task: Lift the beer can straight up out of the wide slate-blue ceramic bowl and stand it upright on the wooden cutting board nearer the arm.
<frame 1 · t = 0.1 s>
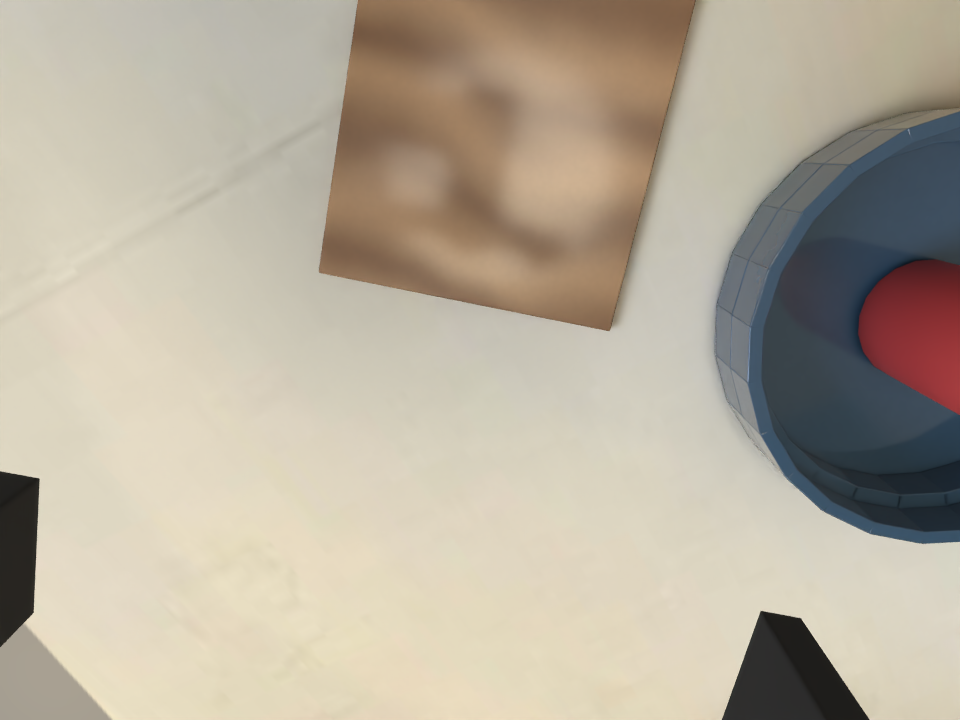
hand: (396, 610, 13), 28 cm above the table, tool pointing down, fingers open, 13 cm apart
blue bowl: (910, 316, 40), on the table
beer can: (911, 317, 40), resting on blue bowl
wooden cutting board: (508, 90, 37), on the table
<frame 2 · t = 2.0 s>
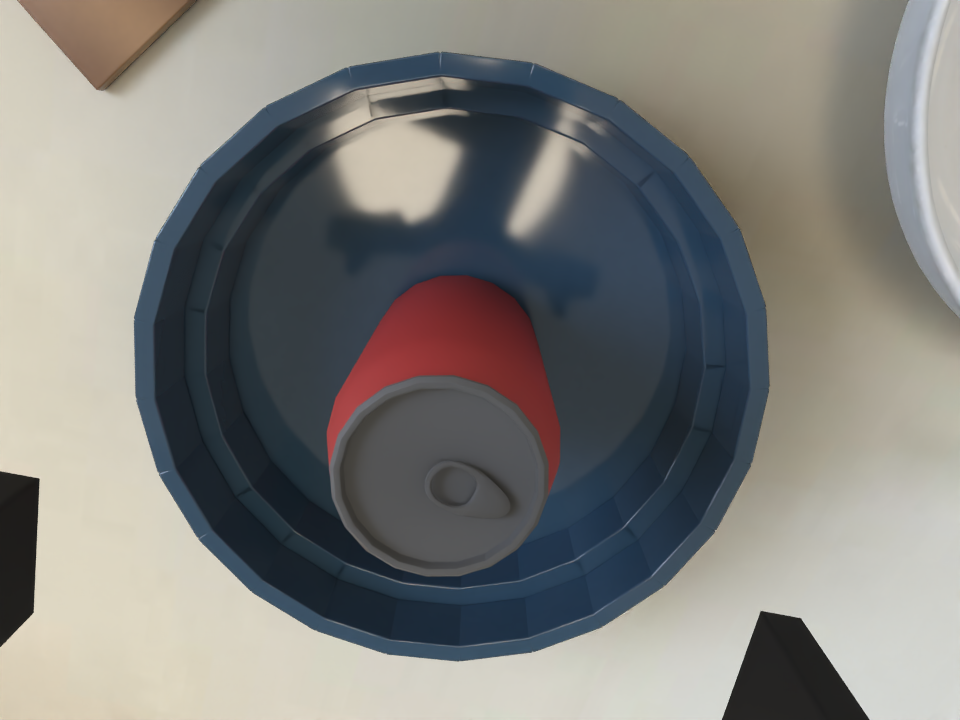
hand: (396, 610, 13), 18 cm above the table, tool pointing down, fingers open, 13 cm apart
blue bowl: (456, 350, 30), on the table
beer can: (456, 350, 30), resting on blue bowl
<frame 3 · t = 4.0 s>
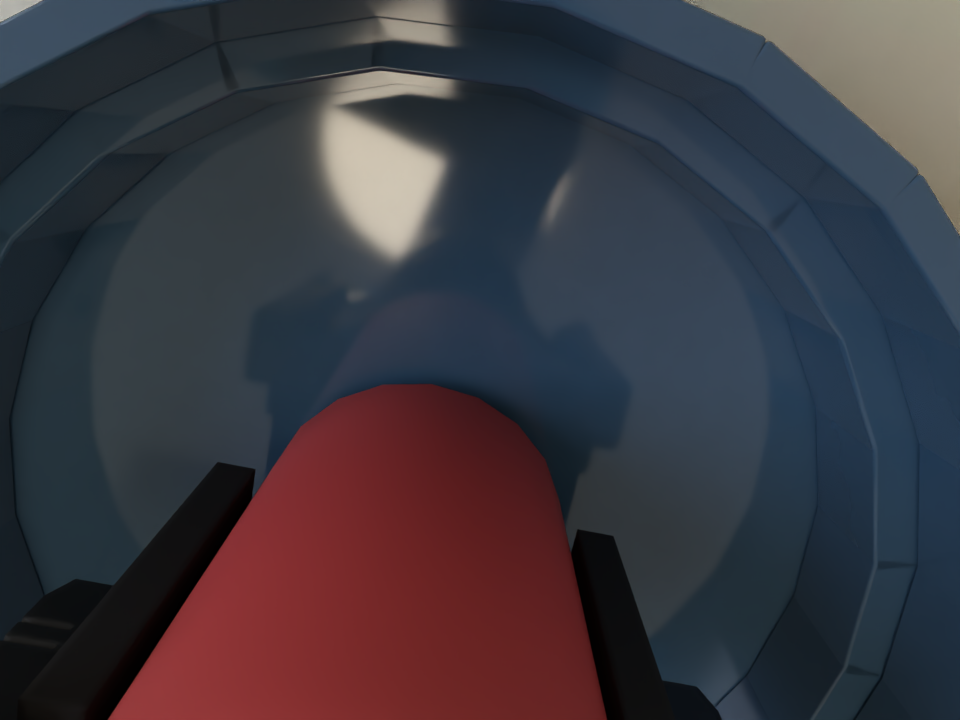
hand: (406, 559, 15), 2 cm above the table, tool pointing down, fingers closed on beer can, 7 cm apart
blue bowl: (416, 503, 17), on the table
beer can: (416, 505, 17), resting on blue bowl, touching gripper
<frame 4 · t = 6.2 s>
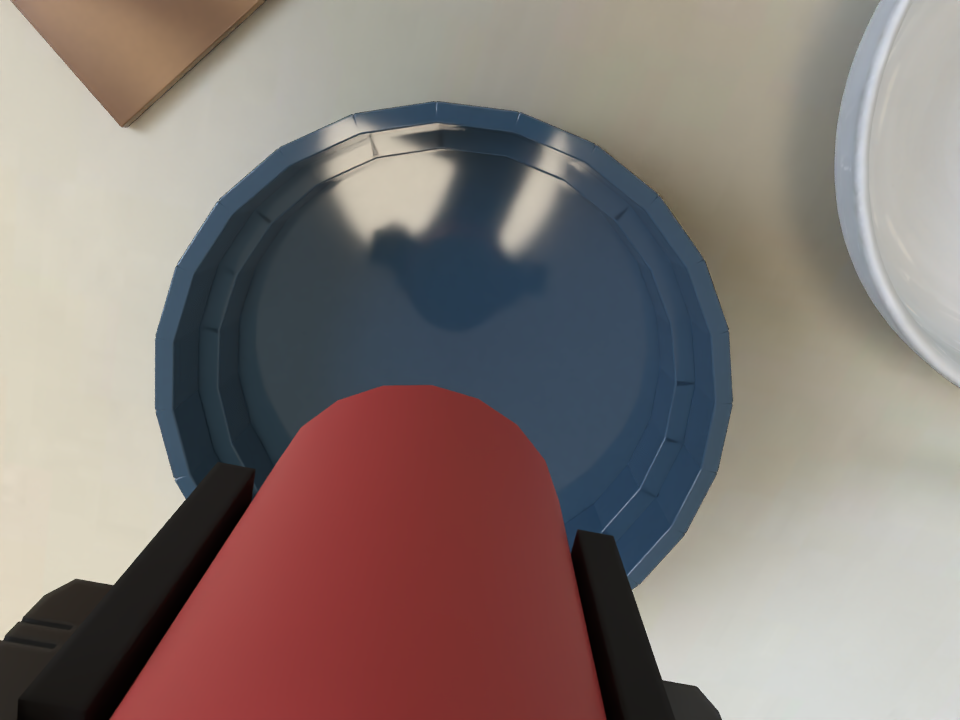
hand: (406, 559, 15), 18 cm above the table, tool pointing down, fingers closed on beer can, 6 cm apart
blue bowl: (449, 366, 33), on the table
beer can: (416, 506, 17), point 16 cm above the table, touching gripper
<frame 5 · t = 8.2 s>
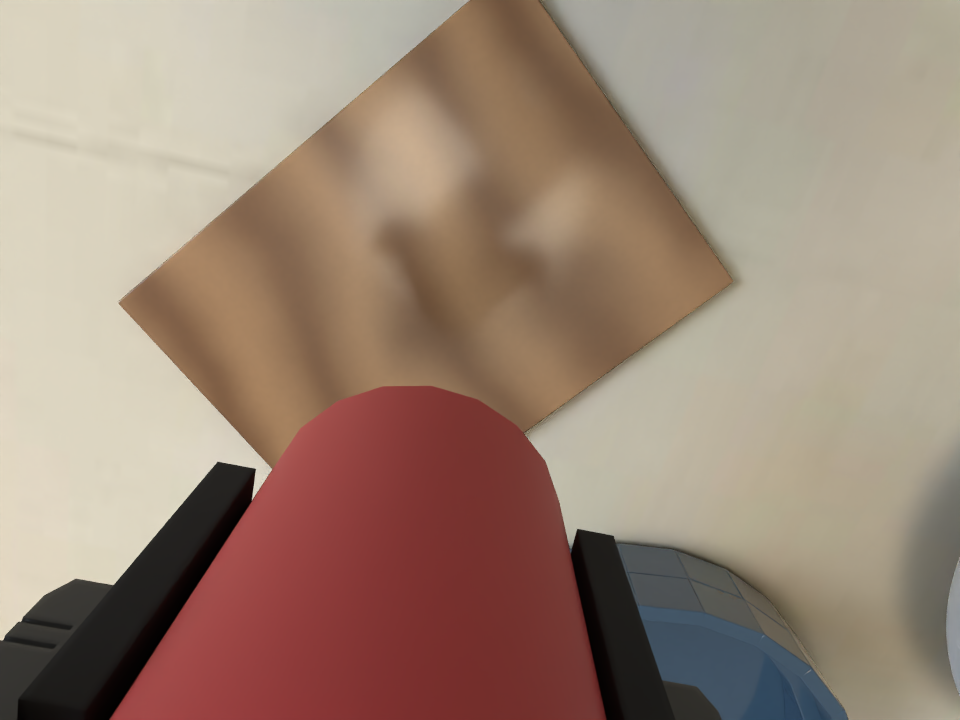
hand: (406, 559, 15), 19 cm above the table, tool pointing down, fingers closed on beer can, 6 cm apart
beer can: (416, 507, 17), point 17 cm above the table, touching gripper
wooden cutting board: (425, 290, 33), on the table
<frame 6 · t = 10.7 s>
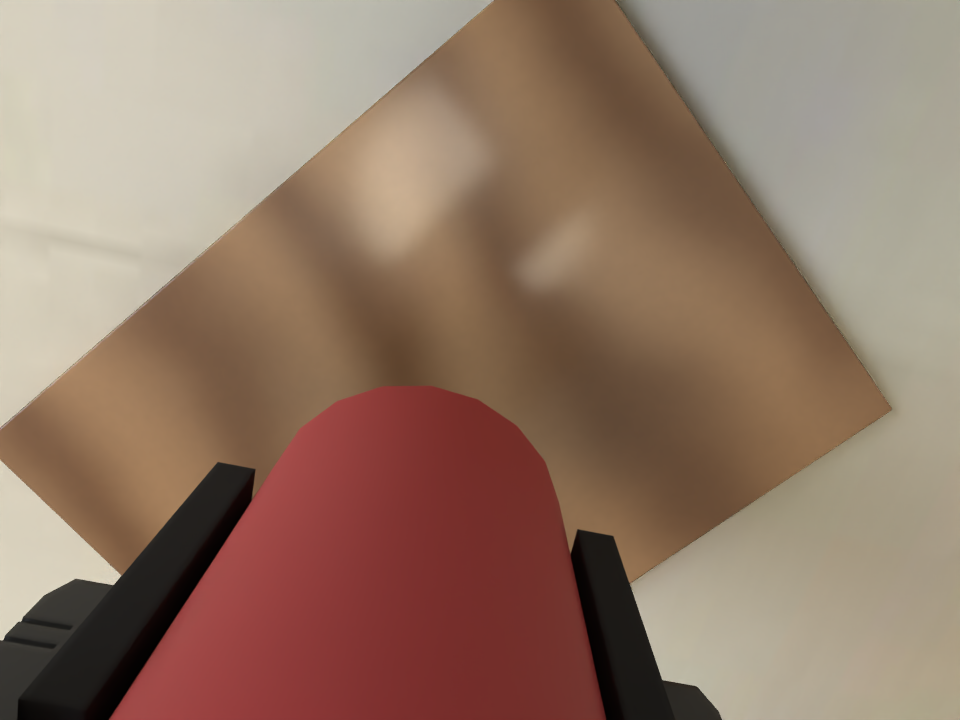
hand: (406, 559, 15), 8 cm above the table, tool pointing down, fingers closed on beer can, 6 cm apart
beer can: (416, 506, 17), point 5 cm above the table, touching gripper
wooden cutting board: (434, 420, 23), on the table
when the fingers open (3 cm above the table, at t = 12.4 s): beer can stays where it is, resting on wooden cutting board.
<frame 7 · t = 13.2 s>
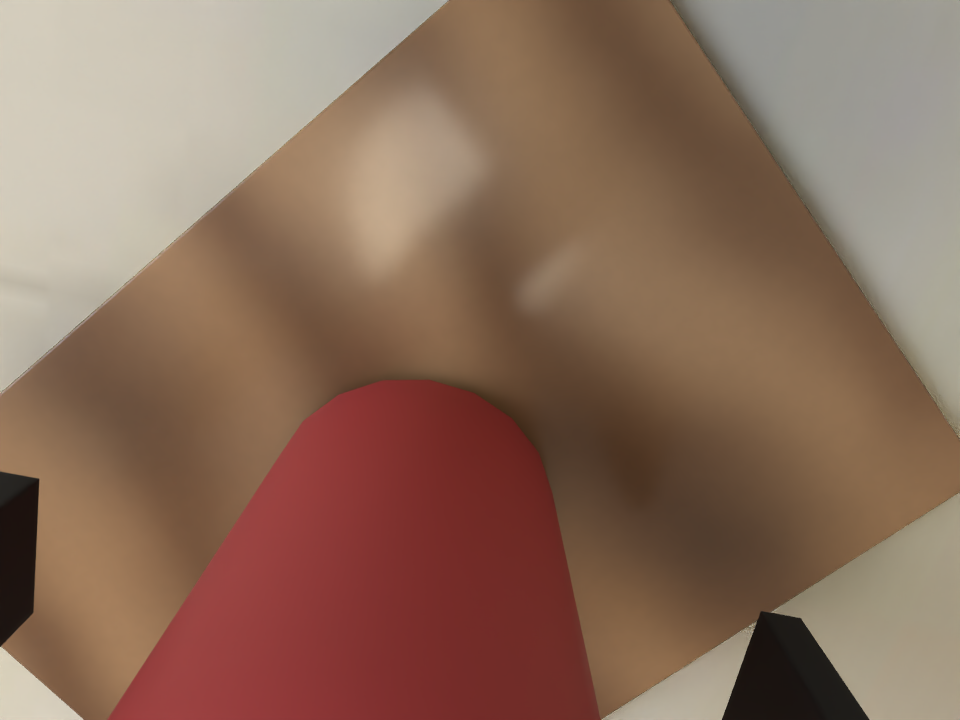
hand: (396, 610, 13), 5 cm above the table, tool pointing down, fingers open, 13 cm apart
beer can: (414, 497, 18), resting on wooden cutting board
wooden cutting board: (417, 489, 18), on the table
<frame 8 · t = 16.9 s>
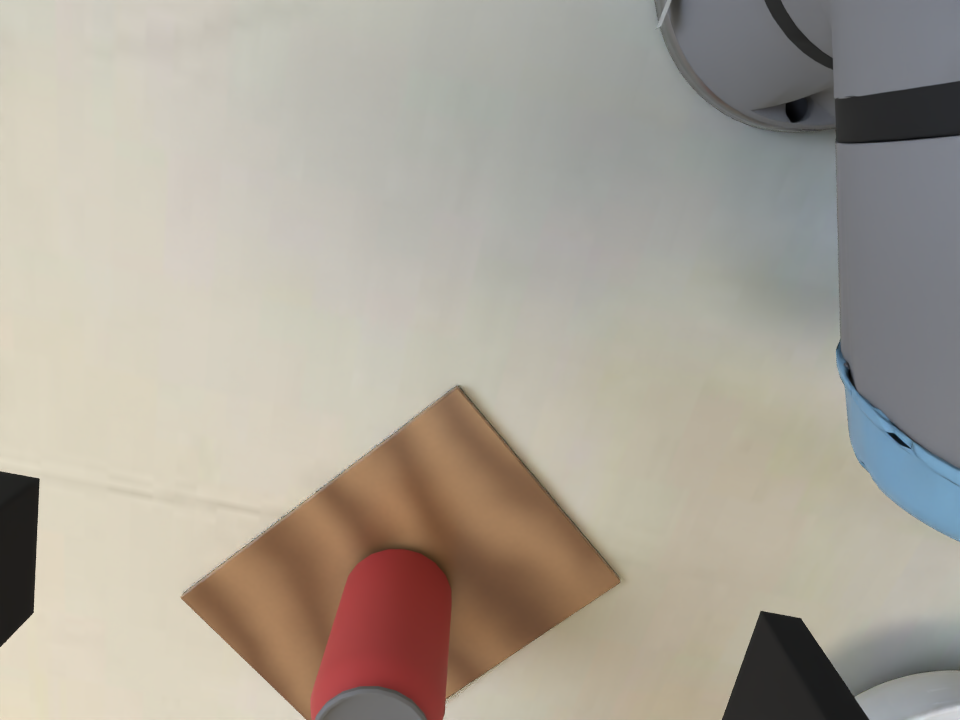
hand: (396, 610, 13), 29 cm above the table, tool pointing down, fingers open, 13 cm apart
beer can: (399, 589, 46), resting on wooden cutting board
wooden cutting board: (400, 585, 46), on the table
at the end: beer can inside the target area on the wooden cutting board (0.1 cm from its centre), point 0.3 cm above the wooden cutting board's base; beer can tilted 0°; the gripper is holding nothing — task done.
